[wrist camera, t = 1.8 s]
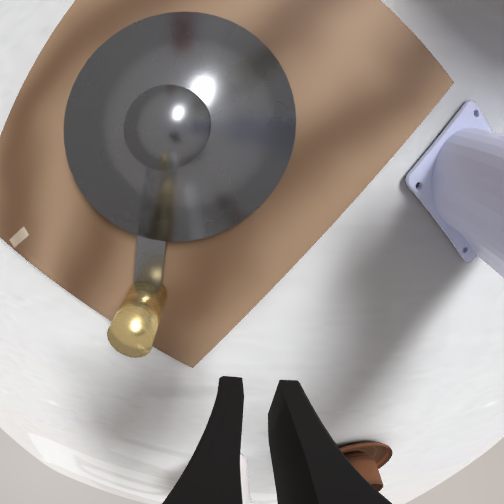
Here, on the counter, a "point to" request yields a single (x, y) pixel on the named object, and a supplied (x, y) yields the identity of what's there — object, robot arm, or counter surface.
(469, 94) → the counter surface
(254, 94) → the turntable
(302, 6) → the board
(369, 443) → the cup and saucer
